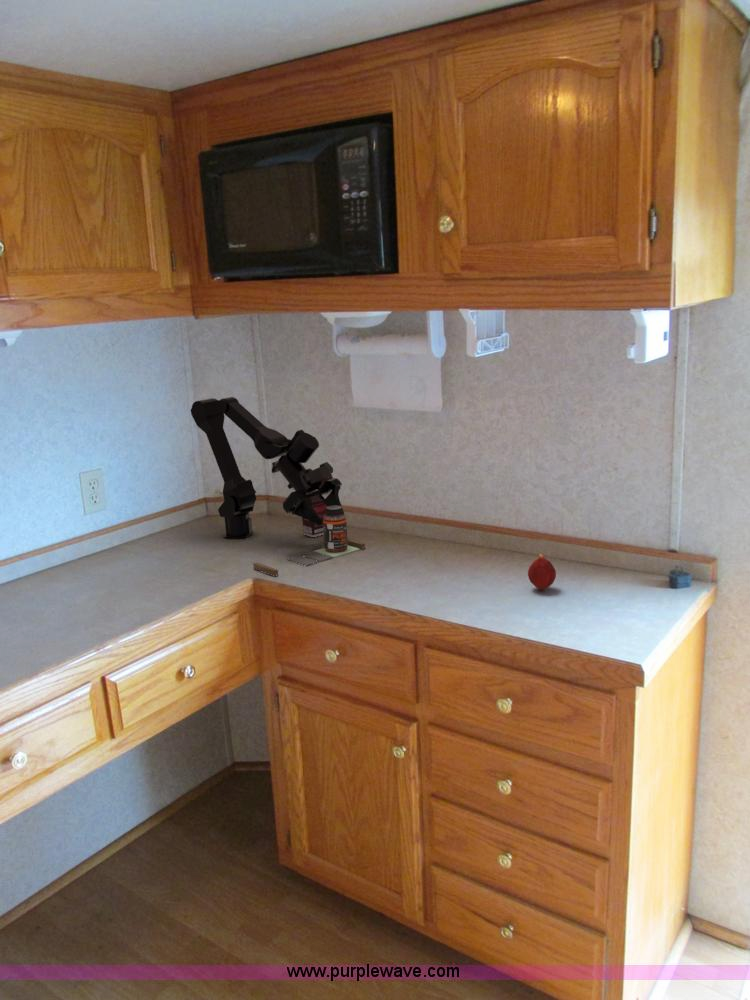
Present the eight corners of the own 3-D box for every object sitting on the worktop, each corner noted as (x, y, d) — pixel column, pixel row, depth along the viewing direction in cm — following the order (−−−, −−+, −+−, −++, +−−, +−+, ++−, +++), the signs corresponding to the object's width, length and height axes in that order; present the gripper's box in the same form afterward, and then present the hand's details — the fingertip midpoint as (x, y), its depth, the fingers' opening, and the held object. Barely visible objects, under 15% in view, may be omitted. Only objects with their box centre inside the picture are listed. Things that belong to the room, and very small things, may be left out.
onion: (561, 589, 177) (561, 553, 175) (545, 596, 173) (545, 560, 171) (538, 583, 181) (538, 548, 179) (522, 591, 177) (522, 555, 175)
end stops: (274, 577, 195) (274, 570, 195) (253, 569, 202) (253, 563, 201) (365, 549, 213) (364, 543, 213) (343, 542, 220) (342, 537, 219)
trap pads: (306, 566, 202) (306, 565, 202) (287, 559, 208) (287, 558, 208) (332, 558, 207) (332, 557, 207) (312, 552, 213) (312, 551, 213)
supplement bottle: (334, 554, 209) (331, 511, 206) (320, 550, 213) (317, 507, 210) (352, 549, 213) (350, 506, 210) (338, 544, 217) (335, 502, 214)
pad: (333, 557, 207) (333, 556, 207) (314, 551, 213) (314, 550, 213) (359, 549, 213) (359, 548, 213) (340, 544, 219) (340, 543, 218)
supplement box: (327, 528, 234) (323, 473, 230) (337, 531, 230) (333, 476, 227) (302, 535, 229) (297, 479, 225) (312, 538, 225) (308, 481, 221)
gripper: (288, 461, 203) (326, 509, 199) (334, 447, 218) (370, 492, 214) (266, 489, 209) (303, 536, 206) (312, 474, 224) (347, 518, 221)
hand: (332, 520), depth 211 cm, fingers open, 9 cm apart
